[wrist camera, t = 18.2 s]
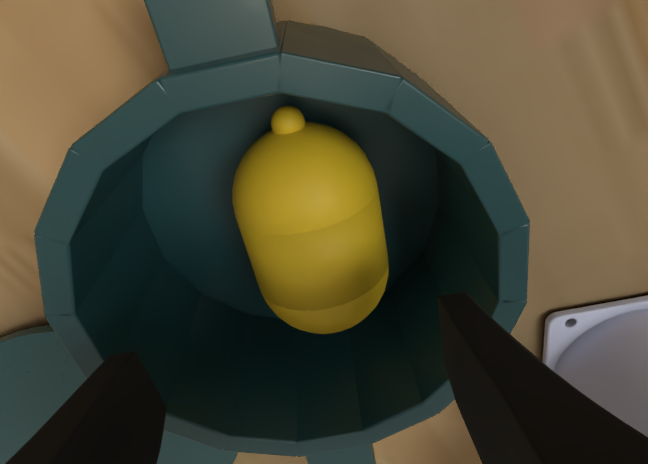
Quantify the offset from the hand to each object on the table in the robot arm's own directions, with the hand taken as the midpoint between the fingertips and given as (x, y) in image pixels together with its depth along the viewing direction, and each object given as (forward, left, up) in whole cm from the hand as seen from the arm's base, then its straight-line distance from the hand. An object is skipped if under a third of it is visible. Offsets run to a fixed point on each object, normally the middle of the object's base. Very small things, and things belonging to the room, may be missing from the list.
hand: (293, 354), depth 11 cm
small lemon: (0, 0, -7) cm, 7 cm away
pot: (0, 0, -8) cm, 8 cm away
